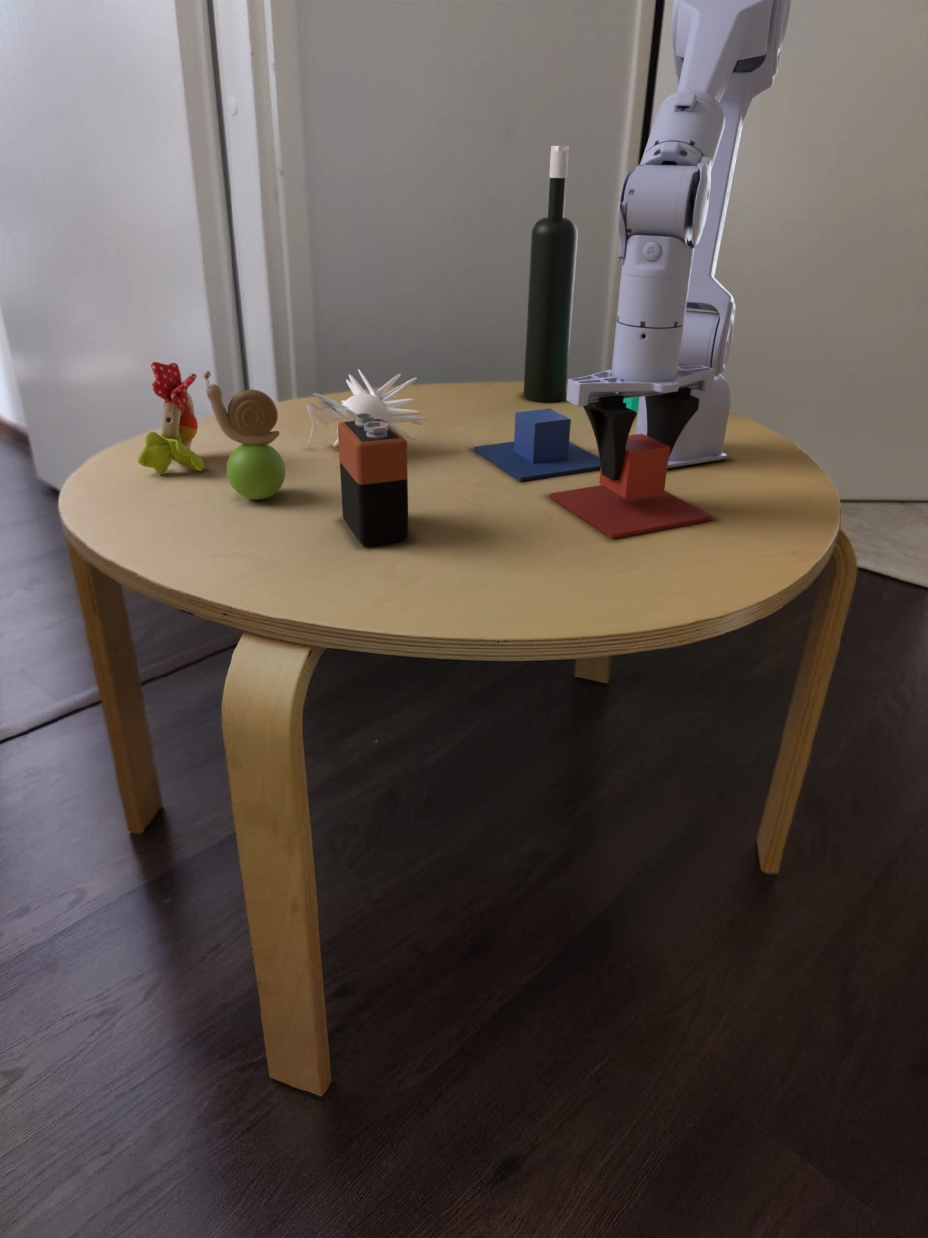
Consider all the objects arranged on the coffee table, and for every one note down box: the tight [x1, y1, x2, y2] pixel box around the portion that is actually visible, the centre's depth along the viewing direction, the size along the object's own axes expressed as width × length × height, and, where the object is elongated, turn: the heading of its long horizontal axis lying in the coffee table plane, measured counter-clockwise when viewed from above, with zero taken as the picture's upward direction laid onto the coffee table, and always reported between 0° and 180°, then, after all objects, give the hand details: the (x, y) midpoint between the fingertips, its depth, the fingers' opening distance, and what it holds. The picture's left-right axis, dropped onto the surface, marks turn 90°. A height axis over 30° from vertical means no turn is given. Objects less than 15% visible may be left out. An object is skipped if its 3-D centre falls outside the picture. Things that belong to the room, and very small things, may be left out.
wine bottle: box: [523, 145, 579, 403], centre depth 110 cm, size 6×6×30 cm
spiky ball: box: [306, 368, 427, 448], centre depth 94 cm, size 11×12×8 cm
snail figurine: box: [203, 370, 286, 501], centre depth 80 cm, size 5×6×12 cm
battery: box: [337, 413, 409, 547], centre depth 74 cm, size 4×7×10 cm, turn 21°
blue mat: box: [473, 441, 601, 482], centre depth 95 cm, size 11×11×1 cm
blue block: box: [513, 408, 572, 463], centre depth 93 cm, size 4×4×4 cm
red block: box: [598, 433, 670, 499], centre depth 80 cm, size 4×4×4 cm
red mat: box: [549, 484, 713, 540], centre depth 82 cm, size 11×11×1 cm
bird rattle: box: [137, 361, 205, 475], centre depth 89 cm, size 6×11×9 cm
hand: (632, 473), depth 81 cm, fingers closed on red block, 4 cm apart
